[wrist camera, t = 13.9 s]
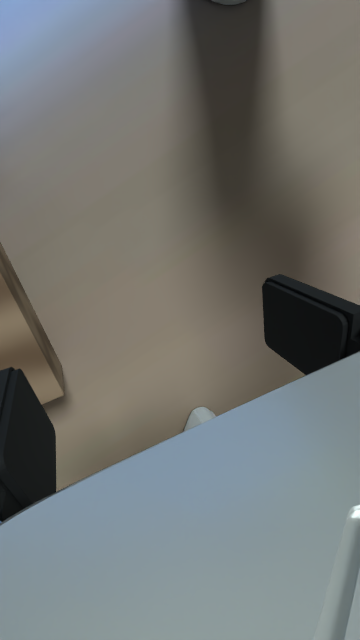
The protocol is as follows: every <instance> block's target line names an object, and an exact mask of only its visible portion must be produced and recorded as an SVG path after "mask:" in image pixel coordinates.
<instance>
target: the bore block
mask: <svg viewBox="0 0 360 640" xmlns="http://www.w3.org/2000/svg"><path fill="white" fill-rule="evenodd" d="M9 367H13V368H14V369H15V370H17V369H19V368H20V369H21V370H22V371H23V373H24V374H25V376H26V378H27V380H28V382H29V383H30V385H31V387H32V389H33V391H34V392H35V394H36V396H37V398H38V399H39V401H40V403H41V405H42V404H44V403H46V402H49V401H51V400H54V399H56V398H58V397H61V396H63V395H64V386H63V375H62V365H61V363H60V361H59V359H58V357H57V355H56V353H55V351H54V349H53V347H52V345H51V343H50V341H49V339H48V337H47V335H46V333H45V331H44V329H43V327H42V325H41V323H40V321H39V319H38V317H37V315H36V313H35V311H34V309H33V307H32V305H31V303H30V301H29V299H28V297H27V295H26V293H25V291H24V289H23V287H22V285H21V283H20V281H19V279H18V277H17V275H16V273H15V271H14V269H13V267H12V265H11V263H10V261H9V259H8V257H7V255H6V253H5V251H4V249H3V247H2V245H1V243H0V370H3V369H6V368H9Z"/></svg>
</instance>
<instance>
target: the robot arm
mask: <svg viewBox="0 0 360 640" xmlns="http://www.w3.org/2000/svg"><path fill="white" fill-rule="evenodd" d="M212 1H213V2H217V3H220V4H224V5H236V4H239V3H242V2H245V1H247V0H212ZM262 293H263V314H264V335H265V342H266V344H267V346H268V347H269V348H271V349H272V350H273V351H275V352H276V353H277V354H279V355H280V356H281V357H283V358H284V359H285V360H287V361H288V362H289V363H291V364H292V365H293V366H295V367H296V368H297V369H299V370H300V371H301V372H303V373H304V374H305V375H306V376H304V377H302V378H299V379H297V380H295V381H293V382H291V383H289V384H286V385H284V386H282V387H280V388H278V389H276V390H273V391H271V392H269V393H267V394H265V395H262V396H260V397H258V398H256V399H254V400H252V401H249V402H247V403H245V404H243V405H241V406H239V407H236V408H234V409H232V410H230V411H228V412H225V413H223V414H221V415H219V416H217V417H215V418H212V419H210V420H208V421H206V422H204V423H202V424H199V425H197V426H195V427H193V428H191V429H188V430H186V431H184V432H182V433H180V434H178V435H175V436H173V437H171V438H169V439H167V440H165V441H162V442H160V443H158V444H156V445H154V446H152V447H150V448H147V449H145V450H143V451H141V452H139V453H137V454H135V455H132V456H130V457H128V458H126V459H124V460H122V461H120V462H117V463H115V464H113V465H111V466H109V467H107V468H105V469H102V470H100V471H98V472H96V473H94V474H92V475H89V476H87V477H85V478H83V479H81V480H79V481H77V482H75V483H73V484H71V485H69V486H67V487H65V488H63V489H61V490H59V491H57V492H56V436H55V430H54V427H53V425H52V423H51V421H50V419H49V417H48V416H47V414H46V412H45V410H44V408H43V407H42V405H41V403H40V401H39V399H38V398H37V396H36V394H35V392H34V391H33V389H32V387H31V385H30V383H29V382H28V380H27V378H26V376H25V374H24V373H23V371H22V370H21V369H20V368H19V369H17V370H15V369H14V368H13V367H9V368H6V369H3V370H0V640H360V305H357V304H355V303H352V302H350V301H347V300H344V299H342V298H339V297H337V296H334V295H332V294H329V293H327V292H324V291H322V290H319V289H317V288H314V287H312V286H309V285H307V284H304V283H302V282H299V281H297V280H294V279H292V278H289V277H286V276H284V275H281V274H279V275H276V276H273V277H270V278H267V279H266V280H265V283H264V284H263V286H262Z"/></svg>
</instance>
